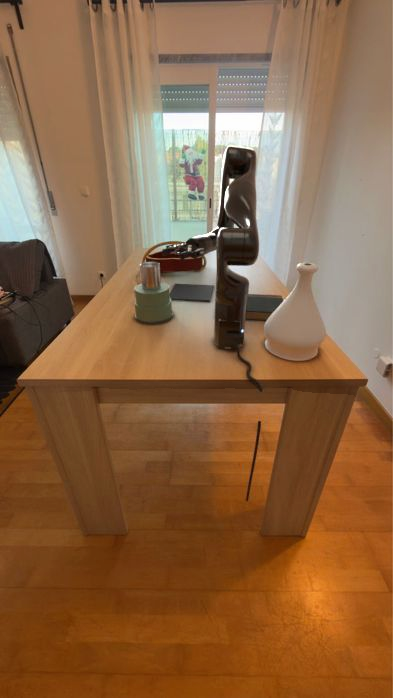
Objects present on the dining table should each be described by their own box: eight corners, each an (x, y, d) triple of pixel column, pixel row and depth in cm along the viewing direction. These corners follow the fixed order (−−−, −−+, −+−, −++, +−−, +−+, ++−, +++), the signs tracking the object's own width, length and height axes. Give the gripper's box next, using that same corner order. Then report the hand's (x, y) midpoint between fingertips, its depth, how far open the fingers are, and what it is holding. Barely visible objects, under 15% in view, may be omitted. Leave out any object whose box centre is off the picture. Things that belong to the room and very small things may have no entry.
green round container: (168, 325, 98) (166, 295, 92) (129, 323, 99) (125, 293, 93) (176, 309, 109) (175, 281, 103) (141, 307, 111) (138, 279, 105)
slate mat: (209, 301, 115) (209, 300, 115) (166, 299, 118) (166, 298, 117) (213, 286, 131) (213, 285, 130) (175, 284, 133) (175, 283, 132)
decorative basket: (206, 266, 165) (206, 239, 159) (206, 274, 138) (206, 242, 132) (148, 267, 166) (146, 240, 159) (138, 275, 139) (134, 243, 133)
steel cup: (158, 291, 95) (156, 267, 91) (139, 290, 96) (137, 266, 92) (163, 284, 101) (161, 261, 96) (145, 283, 102) (143, 261, 97)
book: (215, 318, 103) (285, 322, 100) (215, 309, 101) (287, 313, 98) (218, 299, 117) (280, 302, 114) (219, 291, 115) (281, 294, 112)
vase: (255, 333, 93) (265, 256, 80) (307, 331, 94) (325, 254, 81) (271, 364, 78) (286, 275, 65) (331, 361, 79) (359, 273, 66)
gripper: (185, 233, 113) (156, 240, 103) (214, 238, 106) (186, 246, 95) (185, 253, 117) (158, 261, 107) (213, 258, 110) (187, 268, 99)
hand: (171, 254), depth 101 cm, fingers open, 8 cm apart
